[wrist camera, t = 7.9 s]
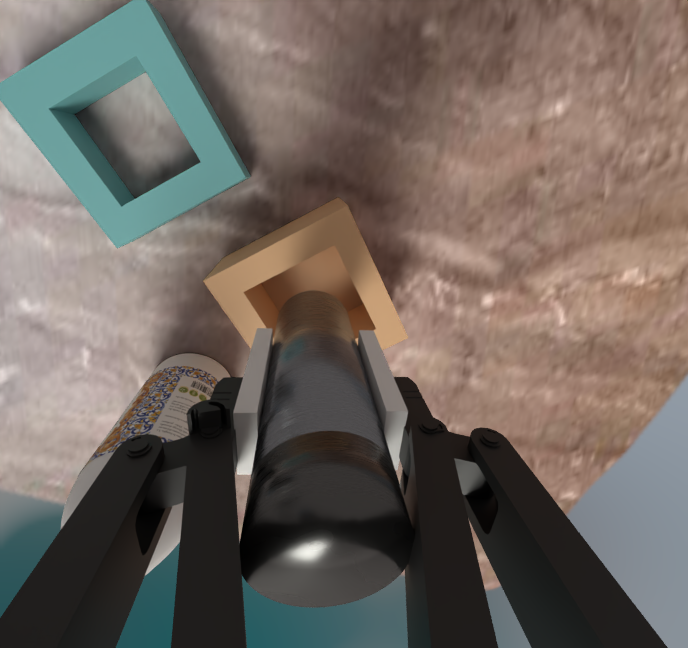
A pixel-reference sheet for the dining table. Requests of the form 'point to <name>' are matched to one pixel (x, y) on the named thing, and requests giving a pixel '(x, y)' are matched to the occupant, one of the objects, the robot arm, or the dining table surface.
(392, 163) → the dining table surface
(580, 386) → the dining table surface
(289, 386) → the pin
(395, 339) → the socket
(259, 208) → the dining table surface
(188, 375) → the bath foam
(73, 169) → the mount
